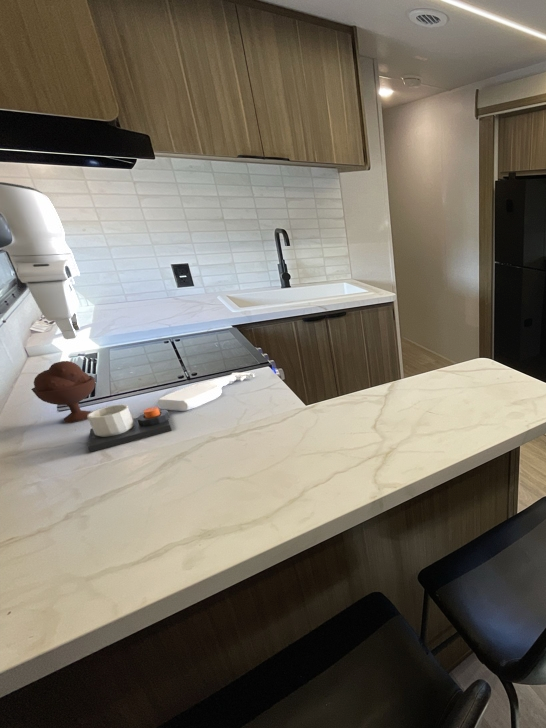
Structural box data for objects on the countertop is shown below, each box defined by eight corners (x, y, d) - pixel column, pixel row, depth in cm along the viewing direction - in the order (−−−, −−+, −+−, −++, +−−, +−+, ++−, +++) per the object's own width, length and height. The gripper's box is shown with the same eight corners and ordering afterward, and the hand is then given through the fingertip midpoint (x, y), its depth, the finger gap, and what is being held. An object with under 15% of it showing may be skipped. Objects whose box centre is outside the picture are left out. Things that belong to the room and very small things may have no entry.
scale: (90, 452, 86) (85, 440, 85) (92, 434, 94) (87, 422, 93) (173, 429, 95) (169, 418, 94) (169, 414, 103) (165, 404, 102)
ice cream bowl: (100, 405, 109) (79, 352, 104) (112, 415, 103) (90, 360, 98) (44, 420, 101) (18, 364, 96) (53, 432, 95) (26, 373, 90)
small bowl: (95, 441, 88) (86, 420, 86) (96, 430, 93) (88, 410, 91) (135, 430, 92) (128, 411, 90) (134, 420, 97) (127, 401, 95)
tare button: (145, 419, 94) (143, 413, 94) (145, 415, 96) (142, 409, 96) (160, 416, 96) (158, 409, 96) (160, 412, 98) (157, 405, 97)
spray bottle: (155, 409, 106) (231, 377, 128) (189, 412, 104) (260, 379, 126) (151, 399, 105) (228, 368, 127) (186, 402, 103) (258, 370, 125)
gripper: (33, 266, 88) (58, 328, 93) (15, 274, 74) (45, 346, 79) (73, 264, 92) (95, 323, 97) (64, 271, 78) (90, 340, 83)
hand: (73, 334), depth 88 cm, fingers open, 8 cm apart
